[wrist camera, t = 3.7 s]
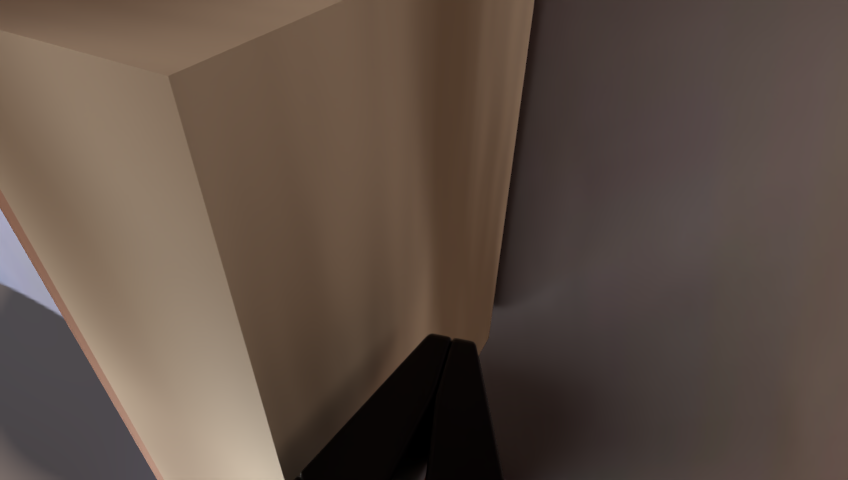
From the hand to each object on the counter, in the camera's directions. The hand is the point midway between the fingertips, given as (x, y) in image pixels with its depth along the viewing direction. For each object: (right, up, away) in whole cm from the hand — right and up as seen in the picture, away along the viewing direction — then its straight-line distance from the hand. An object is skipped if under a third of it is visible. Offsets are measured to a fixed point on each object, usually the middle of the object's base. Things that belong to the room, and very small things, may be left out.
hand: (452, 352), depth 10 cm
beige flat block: (0, +4, +5) cm, 7 cm away
